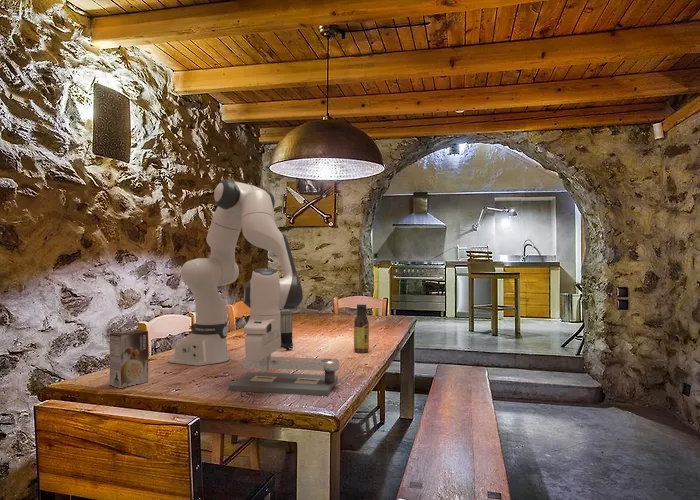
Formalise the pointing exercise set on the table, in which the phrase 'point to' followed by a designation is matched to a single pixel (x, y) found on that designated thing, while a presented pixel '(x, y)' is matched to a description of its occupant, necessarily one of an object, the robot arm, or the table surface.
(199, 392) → the table surface
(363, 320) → the sauce bottle
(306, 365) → the grey flat bar
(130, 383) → the coffee box
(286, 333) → the milk frother
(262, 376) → the label board
